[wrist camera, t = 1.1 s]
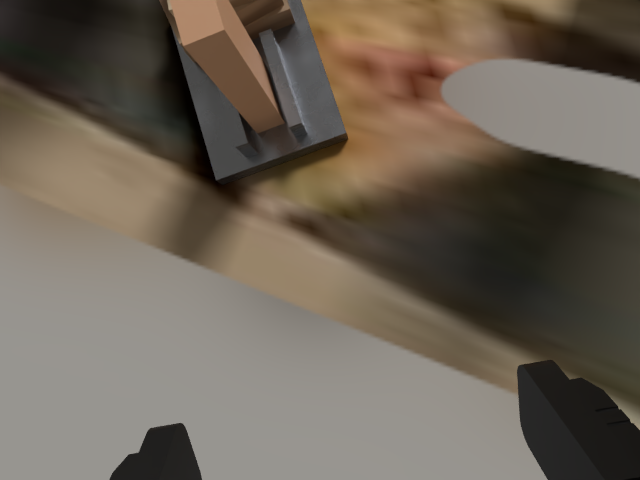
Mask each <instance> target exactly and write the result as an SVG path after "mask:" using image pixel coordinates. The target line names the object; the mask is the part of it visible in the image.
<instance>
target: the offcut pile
mask: <svg viewBox="0 0 640 480" xmlns="http://www.w3.org/2000/svg"><path fill="white" fill-rule="evenodd" d="M159 1H160V3H161V5H162V7H163V9H164V11H165V13H166V16H167V18H168V20H169V22H170V24H171V26H172V29H173V31H174V33H175V35H176V37H177V39H178V41H179V44H180V45H181V46H182V47H183V44H182V41H181V37H180V34H179V30H178V27H177V24H176V20H175V17H174V13H173V10H172V7H171V3H170V0H159ZM229 2H230V4H231V5H232V7H233V9H234V11H235V12H236V14H237V16H238V17H239V19H240V21H241V23H242V24H243V26H244V28H245V30H246V31H247V33H248V35H249V37H250V38H251V40H253V39H255V38H258V37H260V36H259V33H261V32H264V31H266V30H269V29H271V30H272V32H273V31H276V30H278V29H281V28H283V27H286V26H288V25H291V24H293V23H295V21H294V18H293V15H292V12H291V9H290V6H289V3H288V0H229ZM183 49H184V52H185V53H186V54H187V55H188V56H189V57H190V59H191V60H192V61H193V62H194V63H195V62H196V61H195V60H194V58H193V57H192V56H191V55H190V54H189V53H188V51H187V50H186V49H185V48H184V47H183Z"/></svg>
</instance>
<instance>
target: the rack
mask: <svg viewBox="0 0 640 480" xmlns="http://www.w3.org/2000/svg"><path fill="white" fill-rule="evenodd" d="M288 3H289V6H290V9H291V12H292V15H293V18H294V21H295V23H293V24H291V25H288V26H286V27H283V28H281V29H278V30H276V31H273V32H272V30H271V29H269V30H266V31H264V32H261V33H259V36H260V37H258V38H255V39H253V40H252V42H253V44H254V45H255V47H256V49H257V51H258V52H259V54H260V56H261V58H262V59H263V61H264V63H265V65H266V66H267V68H268V71H269V75H270V78H271V81H272V84H273V87H274V90H275V93H276V96H277V99H278V102H279V106H280V109H281V112H282V115H283V118H284V121H285V123H284V124H281V125H279V126H276V127H273V128H271V129H268V130H265V131H263V132H260V133H256V132H255V130H254V129H253V128H252V127H251V126H250V125H249V123H248V122H247V121H246V120H245V119H244V117H243V116H242V115H241V114H240V113H239V112H238V110H237V109H236V108H235V107H234V106H233V105H232V103H231V102H230V101H229V100H228V99H227V97H226V96H225V95H224V94H223V93H222V92H221V90H220V89H219V88H218V87H217V86H216V84H215V83H214V82H213V81H212V80H211V79H210V77H209V76H208V75H207V74H206V73H205V71H204V70H203V69H202V68H201V67H200V66H199V64H198V63H197V62H195V63H194V62H193V61H192V60H191V59H190V57H189V56H188V55H187V54H186V53H185V52H184V49H183V47H182V46H181V45H180V44H179V41H178V39H177V37H176V35H175V33H174V31H173V34H174V37H175V41H176V44H177V47H178V51H179V54H180V58H181V61H182V65H183V68H184V72H185V75H186V78H187V82H188V85H189V89H190V92H191V96H192V99H193V103H194V106H195V110H196V113H197V116H198V120H199V123H200V127H201V130H202V134H203V137H204V141H205V144H206V147H207V151H208V154H209V158H210V161H211V165H212V168H213V172H214V175H215V178H216V181H218V182H219V183H221V184H222V185H224V184H226V183H229V182H232V181H234V180H237V179H240V178H243V177H245V176H248V175H251V174H254V173H256V172H259V171H262V170H265V169H267V168H270V167H273V166H276V165H278V164H281V163H284V162H287V161H289V160H292V159H295V158H297V157H300V156H303V155H306V154H308V153H311V152H314V151H317V150H319V149H322V148H325V147H328V146H330V145H333V144H336V143H339V142H341V141H344V140H347V139H348V137H347V134H346V131H345V128H344V125H343V122H342V119H341V116H340V113H339V110H338V107H337V104H336V102H335V99H334V96H333V93H332V90H331V87H330V84H329V81H328V78H327V75H326V73H325V70H324V67H323V64H322V61H321V58H320V55H319V52H318V49H317V46H316V43H315V41H314V38H313V35H312V32H311V29H310V26H309V23H308V20H307V17H306V14H305V12H304V9H303V6H302V3H301V0H288ZM171 27H172V26H171ZM172 30H173V29H172Z"/></svg>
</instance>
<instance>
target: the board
mask: <svg viewBox="0 0 640 480" xmlns="http://www.w3.org/2000/svg"><path fill="white" fill-rule="evenodd" d="M170 3H171V7H172V10H173V13H174V17H175V20H176V24H177V27H178V30H179V34H180V37H181V41H182V44H183V47H184V48H185V49H186V50H187V51H188V53H189V54H190V55H191V56H192V57H193V58H194V60H195V61H196V62H197V63H198V64H199V66H200V67H201V68H202V69H203V70H204V71H205V73H206V74H207V75H208V76H209V77H210V79H211V80H212V81H213V82H214V83H215V84H216V86H217V87H218V88H219V89H220V90H221V92H222V93H223V94H224V95H225V96H226V97H227V99H228V100H229V101H230V102H231V103H232V105H233V106H234V107H235V108H236V109H237V110H238V112H239V113H240V114H241V115H242V116H243V117H244V119H245V120H246V121H247V122H248V123H249V125H250V126H251V127H252V128H253V129H254V130H255V132H256V133H260V132H263V131H265V130H268V129H271V128H273V127H276V126H279V125H281V124H284V123H285V121H284V118H283V115H282V112H281V109H280V106H279V102H278V99H277V96H276V93H275V90H274V87H273V84H272V81H271V78H270V75H269V71H268V68H267V66H266V65H265V63H264V61H263V59H262V58H261V56H260V54H259V52H258V51H257V49H256V47H255V45H254V44H253V42H252V40H251V38H250V37H249V35H248V33H247V31H246V30H245V28H244V26H243V24H242V23H241V21H240V19H239V17H238V16H237V14H236V12H235V11H234V9H233V7H232V5H231V4H230V2H229V0H170Z"/></svg>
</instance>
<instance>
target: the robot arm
mask: <svg viewBox="0 0 640 480" xmlns="http://www.w3.org/2000/svg"><path fill="white" fill-rule="evenodd" d="M517 377H518V394H519V411H520V422H521V427H522V431H523V434H524V437H525V440H526V442H527V445H528V447H529V448H530V450H531V452H532V453H533V455H534V457H535V458H536V460H537V462H538V464H539V466H540V467H541V469H542V471H543V472H544V474H545V476H546V477H547V479H548V480H640V430H639V429H638V428H637V427H636V426H635V425H634V424H633V423H631V422H630V419H629V418H628V417H627V416H626V415H625V414H624V412H623V411H622V410H621V409H620V410H619V409H618V406H617V405H616V404H615V403H614V401H613V400H612V399H611V398H610V397H609V396H608V395H607V394H606V393H605V392H604V390H602V389H601V388H599V387H597V386H595V385H593V384H592V383H590V382H588V381H586V380H585V379H583V378H577V379H571V380H569V378H568V377H567V376H566V375H565V374H564V372H563V371H562V370H561V369H560V368H559V366H558V365H557V364H556V363H555V362H554V361H553V360H547V361H541V362H535V363H530V364H524V365H519V366H518V370H517ZM110 480H202V478H201V473H200V470H199V467H198V464H197V460H196V457H195V454H194V451H193V449H192V445H191V442H190V439H189V436H188V433H187V430H186V428H185V426H184V425H183V424H182V423H177V424H172V425H166V426H160V427H154V428H150V429H149V430H148V432H147V434H146V436H145V439H144V441H143V443H142V446H141V448H140V451H139V453H135V454H129V455H128V456H127V457H126V458H125V459H124V461H123V462H122V463H121V464H120V465H119V466H118V467H117V468H116V470H115V471H114V472H113V473H112V475H111V478H110Z"/></svg>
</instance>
